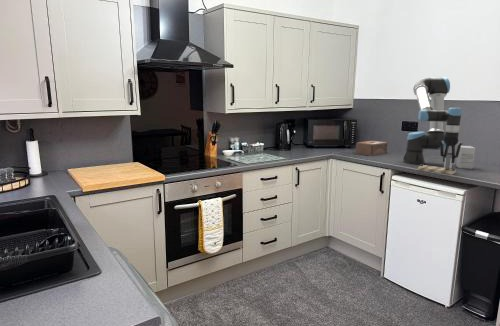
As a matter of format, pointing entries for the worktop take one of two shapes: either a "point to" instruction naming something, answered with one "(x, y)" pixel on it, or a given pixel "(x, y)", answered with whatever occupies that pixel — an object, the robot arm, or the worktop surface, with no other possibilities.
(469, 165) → the supplement box
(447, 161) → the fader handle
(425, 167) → the tan flat oblong piece
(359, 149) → the tissue box cover
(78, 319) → the worktop surface
